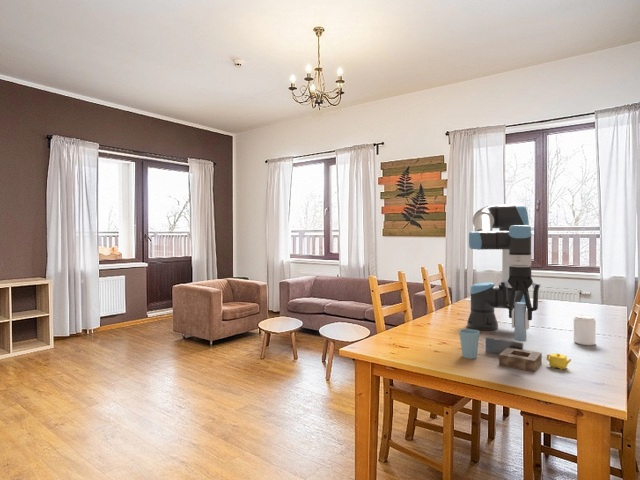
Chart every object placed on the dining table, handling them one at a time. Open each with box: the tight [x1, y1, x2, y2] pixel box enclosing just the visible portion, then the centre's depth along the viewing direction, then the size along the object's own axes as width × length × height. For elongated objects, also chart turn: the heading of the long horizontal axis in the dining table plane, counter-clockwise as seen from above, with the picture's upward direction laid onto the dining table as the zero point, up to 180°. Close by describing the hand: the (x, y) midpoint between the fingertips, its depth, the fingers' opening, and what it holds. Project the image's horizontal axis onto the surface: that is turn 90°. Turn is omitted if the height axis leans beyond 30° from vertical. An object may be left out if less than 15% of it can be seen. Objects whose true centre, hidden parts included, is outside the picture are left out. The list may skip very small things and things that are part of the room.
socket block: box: [498, 347, 543, 373], centre depth 149 cm, size 12×12×4 cm
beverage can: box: [573, 314, 597, 346], centre depth 175 cm, size 8×8×12 cm
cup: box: [459, 328, 481, 360], centre depth 159 cm, size 8×8×10 cm
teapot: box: [546, 353, 572, 371], centre depth 145 cm, size 8×6×5 cm
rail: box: [485, 337, 524, 355], centre depth 160 cm, size 14×1×6 cm, turn 50°
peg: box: [514, 302, 527, 343], centre depth 148 cm, size 4×4×14 cm
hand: (520, 327), depth 149 cm, fingers closed on peg, 4 cm apart
